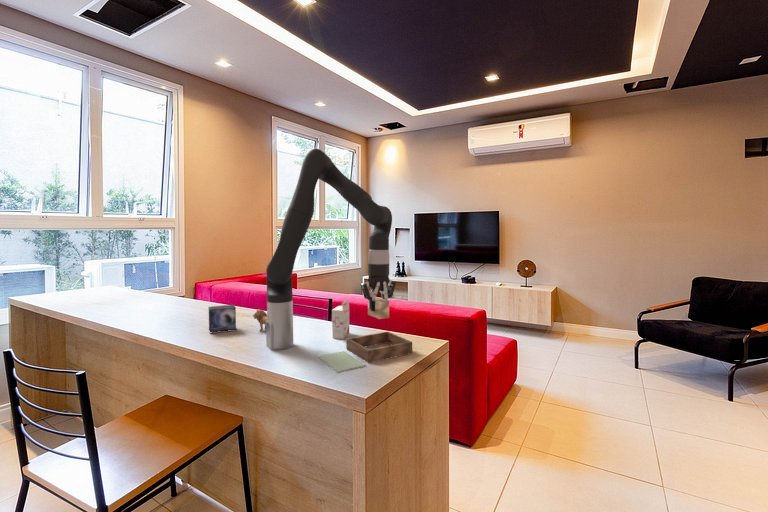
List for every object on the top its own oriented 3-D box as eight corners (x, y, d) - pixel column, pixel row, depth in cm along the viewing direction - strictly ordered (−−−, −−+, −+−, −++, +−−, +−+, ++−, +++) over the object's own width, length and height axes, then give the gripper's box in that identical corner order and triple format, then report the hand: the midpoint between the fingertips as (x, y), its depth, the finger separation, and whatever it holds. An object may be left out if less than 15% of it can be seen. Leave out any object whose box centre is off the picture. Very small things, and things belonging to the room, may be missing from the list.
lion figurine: (251, 330, 160) (251, 309, 159) (262, 327, 164) (261, 307, 163) (271, 336, 151) (271, 314, 150) (282, 333, 155) (282, 312, 154)
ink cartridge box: (338, 332, 156) (338, 298, 155) (349, 333, 155) (349, 298, 154) (331, 338, 147) (331, 302, 146) (343, 339, 146) (343, 302, 145)
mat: (337, 372, 112) (337, 371, 112) (317, 357, 125) (317, 356, 125) (366, 366, 117) (366, 364, 117) (343, 352, 131) (343, 350, 131)
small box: (209, 334, 154) (208, 309, 153) (208, 330, 159) (207, 306, 159) (236, 330, 159) (235, 306, 158) (234, 327, 164) (234, 304, 164)
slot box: (368, 362, 120) (368, 350, 120) (346, 349, 133) (346, 338, 133) (412, 352, 130) (412, 341, 129) (387, 341, 143) (387, 331, 143)
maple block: (379, 319, 126) (379, 301, 125) (367, 314, 133) (368, 298, 132) (389, 317, 128) (389, 300, 128) (377, 313, 135) (377, 297, 134)
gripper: (366, 264, 122) (366, 314, 123) (401, 262, 130) (400, 310, 131) (356, 262, 128) (355, 310, 130) (389, 260, 136) (389, 306, 137)
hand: (378, 310), depth 130 cm, fingers closed on maple block, 4 cm apart
